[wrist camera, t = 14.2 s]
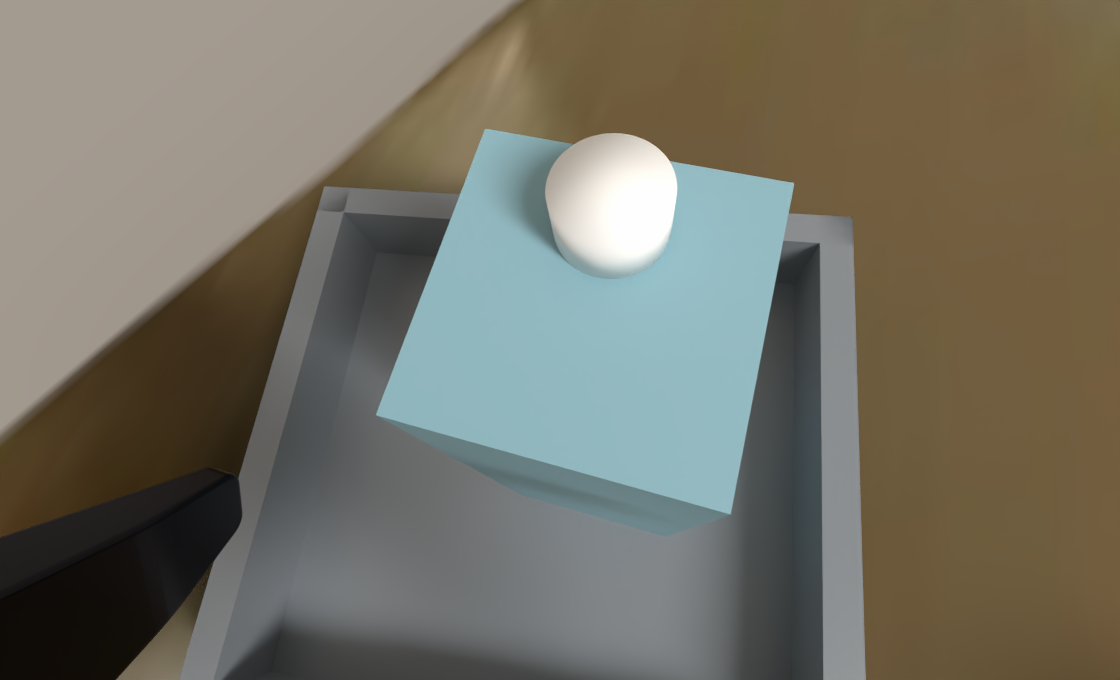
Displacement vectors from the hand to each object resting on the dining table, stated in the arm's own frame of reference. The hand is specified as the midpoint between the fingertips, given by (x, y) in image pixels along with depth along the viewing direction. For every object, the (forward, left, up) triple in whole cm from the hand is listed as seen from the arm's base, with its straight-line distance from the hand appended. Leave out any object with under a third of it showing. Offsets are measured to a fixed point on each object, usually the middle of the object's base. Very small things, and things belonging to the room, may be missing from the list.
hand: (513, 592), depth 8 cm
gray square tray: (+3, +1, -13) cm, 13 cm away
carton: (+4, -1, -12) cm, 12 cm away
